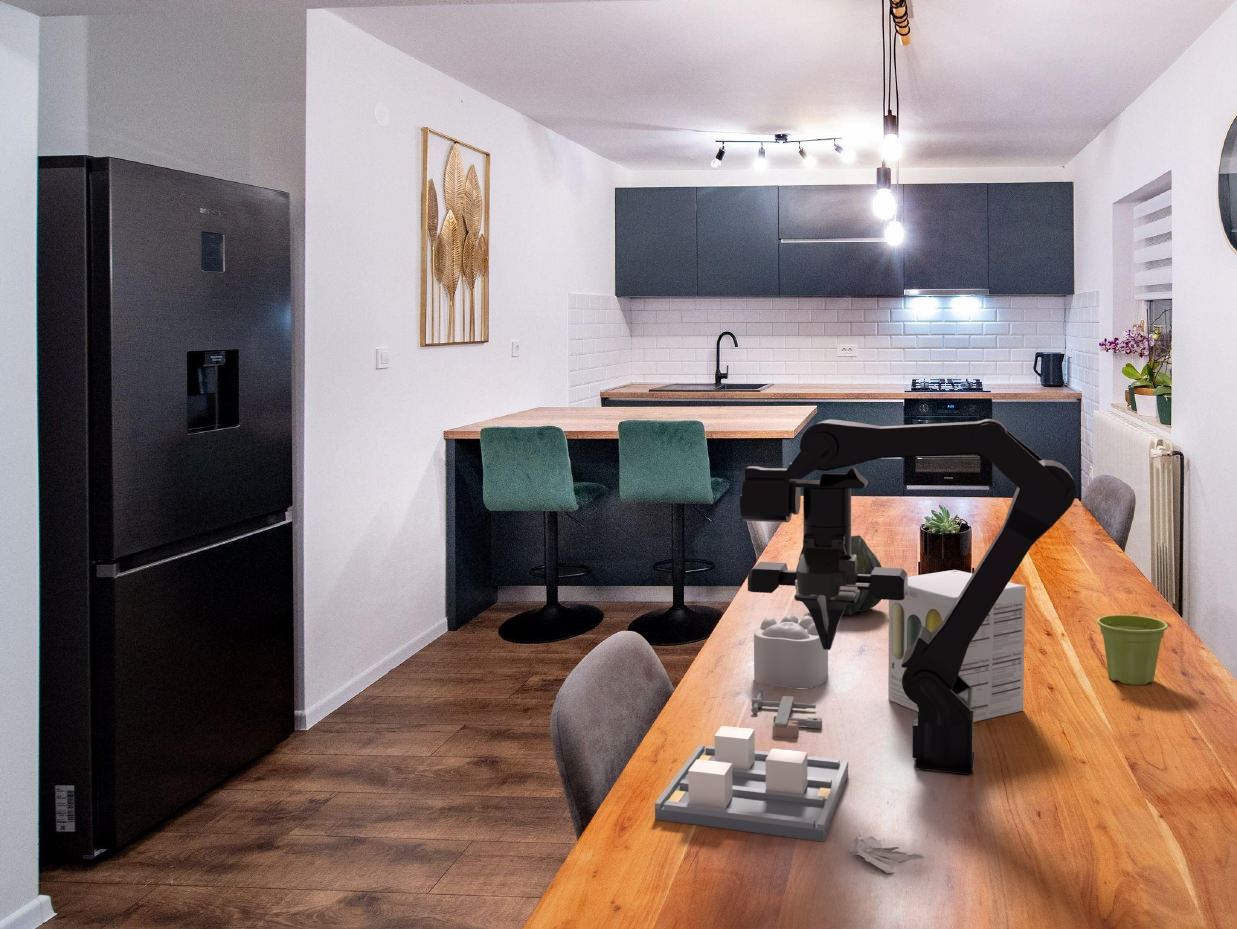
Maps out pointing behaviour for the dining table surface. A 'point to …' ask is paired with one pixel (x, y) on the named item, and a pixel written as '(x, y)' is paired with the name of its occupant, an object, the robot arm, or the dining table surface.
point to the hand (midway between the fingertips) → (827, 649)
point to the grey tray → (761, 799)
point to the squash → (865, 566)
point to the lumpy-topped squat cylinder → (789, 653)
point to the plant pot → (1131, 647)
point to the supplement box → (989, 654)
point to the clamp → (786, 715)
